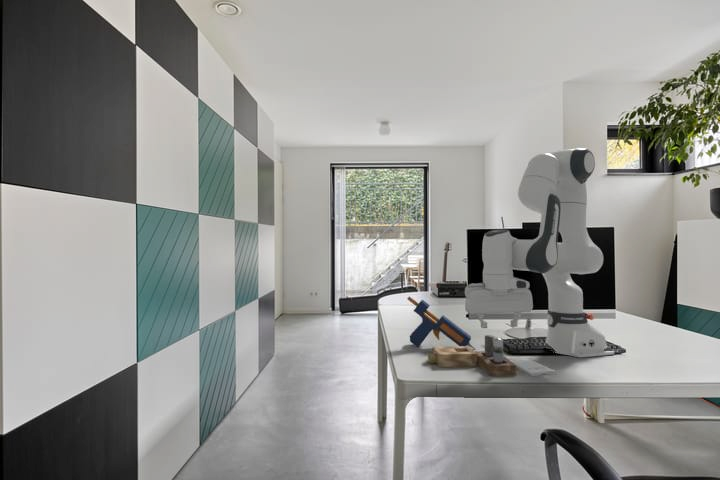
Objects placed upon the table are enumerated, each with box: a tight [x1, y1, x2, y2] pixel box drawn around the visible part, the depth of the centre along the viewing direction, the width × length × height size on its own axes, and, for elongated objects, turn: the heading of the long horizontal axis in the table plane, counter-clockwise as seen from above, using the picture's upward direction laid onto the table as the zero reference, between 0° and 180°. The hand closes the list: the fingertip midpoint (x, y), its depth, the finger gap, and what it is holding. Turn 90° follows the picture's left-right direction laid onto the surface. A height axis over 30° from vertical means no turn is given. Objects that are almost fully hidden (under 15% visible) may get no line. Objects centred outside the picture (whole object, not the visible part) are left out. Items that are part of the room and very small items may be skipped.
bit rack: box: [473, 334, 517, 377], centre depth 129 cm, size 8×15×9 cm, turn 3°
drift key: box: [427, 351, 437, 365], centre depth 134 cm, size 8×3×3 cm, turn 93°
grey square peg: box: [493, 337, 504, 364], centre depth 125 cm, size 3×3×10 cm
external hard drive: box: [509, 358, 556, 377], centre depth 128 cm, size 2×8×12 cm
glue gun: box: [407, 296, 477, 351], centre depth 153 cm, size 6×31×15 cm
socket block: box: [432, 345, 478, 368], centre depth 134 cm, size 12×9×4 cm
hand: (499, 327), depth 125 cm, fingers open, 8 cm apart
